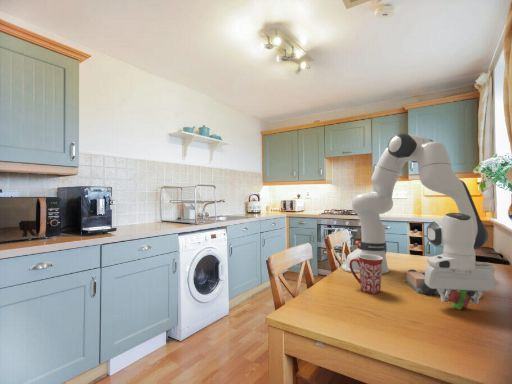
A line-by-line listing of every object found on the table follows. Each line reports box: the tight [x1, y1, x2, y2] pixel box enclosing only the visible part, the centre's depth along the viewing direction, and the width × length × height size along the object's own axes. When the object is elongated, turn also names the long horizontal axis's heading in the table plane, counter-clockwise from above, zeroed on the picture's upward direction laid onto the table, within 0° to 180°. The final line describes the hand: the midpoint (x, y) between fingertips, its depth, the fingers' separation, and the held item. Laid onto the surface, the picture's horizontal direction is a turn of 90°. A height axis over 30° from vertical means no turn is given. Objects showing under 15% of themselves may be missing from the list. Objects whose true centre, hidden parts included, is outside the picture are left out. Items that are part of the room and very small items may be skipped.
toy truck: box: [404, 269, 476, 297], centre depth 109 cm, size 20×16×5 cm
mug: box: [350, 254, 383, 295], centre depth 108 cm, size 13×9×14 cm
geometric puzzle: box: [445, 289, 472, 311], centre depth 90 cm, size 7×7×8 cm
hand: (459, 302), depth 90 cm, fingers closed on geometric puzzle, 8 cm apart
